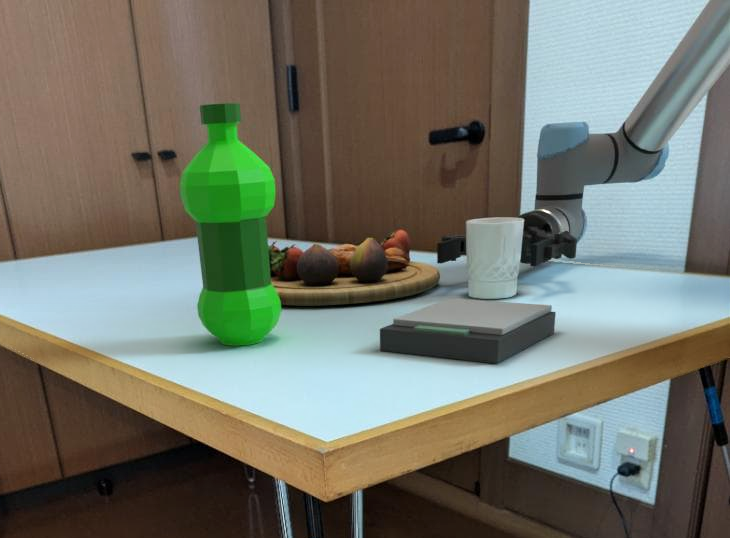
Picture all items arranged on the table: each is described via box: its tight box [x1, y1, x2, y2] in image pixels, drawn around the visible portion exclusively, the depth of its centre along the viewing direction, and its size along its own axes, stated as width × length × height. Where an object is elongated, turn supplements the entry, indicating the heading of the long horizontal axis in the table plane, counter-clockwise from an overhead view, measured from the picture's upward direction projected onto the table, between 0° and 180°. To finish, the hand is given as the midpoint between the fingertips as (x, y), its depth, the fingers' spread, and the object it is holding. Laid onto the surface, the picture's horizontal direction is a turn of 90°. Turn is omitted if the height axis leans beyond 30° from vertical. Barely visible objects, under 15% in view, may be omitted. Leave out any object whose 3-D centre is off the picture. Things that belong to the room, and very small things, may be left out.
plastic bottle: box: [179, 102, 282, 347], centre depth 91 cm, size 10×10×25 cm
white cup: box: [465, 216, 524, 300], centre depth 112 cm, size 8×8×10 cm
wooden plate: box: [268, 229, 441, 307], centre depth 124 cm, size 32×32×8 cm
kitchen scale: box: [379, 297, 557, 365], centre depth 89 cm, size 14×15×3 cm
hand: (485, 254), depth 109 cm, fingers open, 13 cm apart
